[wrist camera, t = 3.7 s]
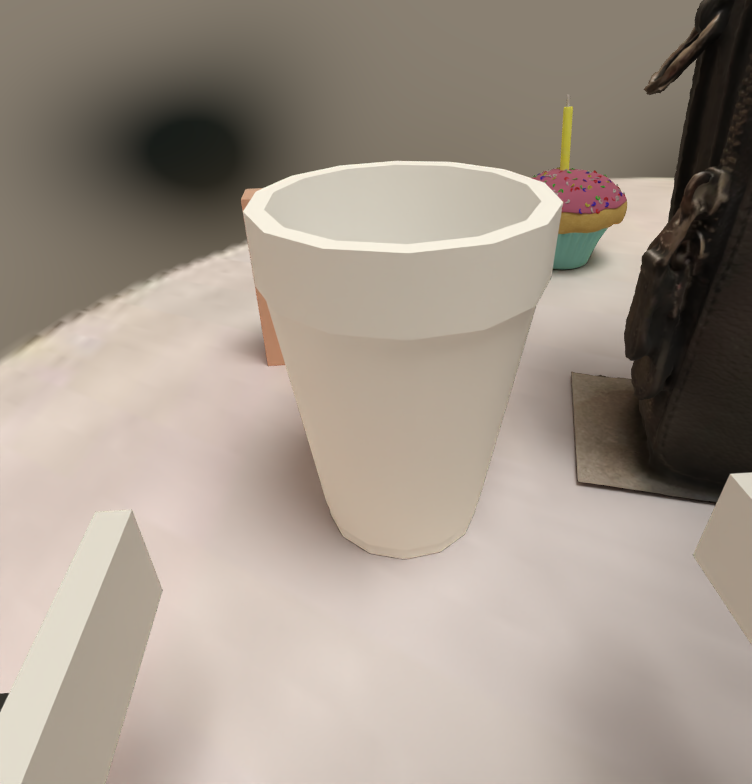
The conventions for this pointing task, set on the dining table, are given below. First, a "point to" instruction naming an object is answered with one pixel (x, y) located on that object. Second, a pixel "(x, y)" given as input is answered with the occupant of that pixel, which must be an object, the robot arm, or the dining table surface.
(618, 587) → the dining table surface
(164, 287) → the dining table surface
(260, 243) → the foam cup
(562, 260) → the cupcake
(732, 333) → the shoulder bag
